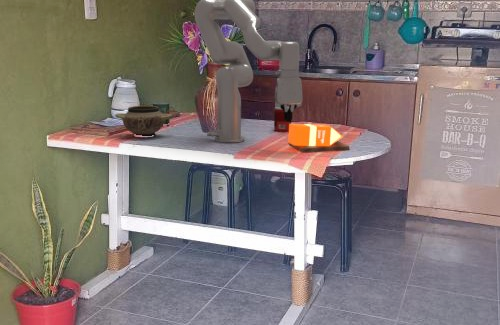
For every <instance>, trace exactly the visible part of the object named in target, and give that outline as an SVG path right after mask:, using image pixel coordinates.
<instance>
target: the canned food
mask: <svg viewBox="0 0 500 325" xmlns="http://www.w3.org/2000/svg"><path fill="white" fill-rule="evenodd" d="M287 107H288V109H289V106H287ZM273 111H274V112H273V113H274V114H273V115H274V117H273V119H274V120H273V129H274V132H277V133H287V132H288V133H289V124H292V121H291V122H285V120H284V111H283V110H282V109H281V108H280V107H276V106H275V107H274V110H273Z"/></svg>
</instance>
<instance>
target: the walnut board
mask: <svg viewBox="0 0 500 325" xmlns="http://www.w3.org/2000/svg"><path fill="white" fill-rule="evenodd" d="M287 144H289V146H290V147H292V148H294V149H296V150H297V151H299V152H301V153H313V152H315V153H317V151H318V152H336V151H350V145H347V144H346V143H343V142H341V141H339V140H338V141H336V142H335V143H333V144H332V145H330V146H297V145H293V144H291V143H289V142H288V143H287Z"/></svg>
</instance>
